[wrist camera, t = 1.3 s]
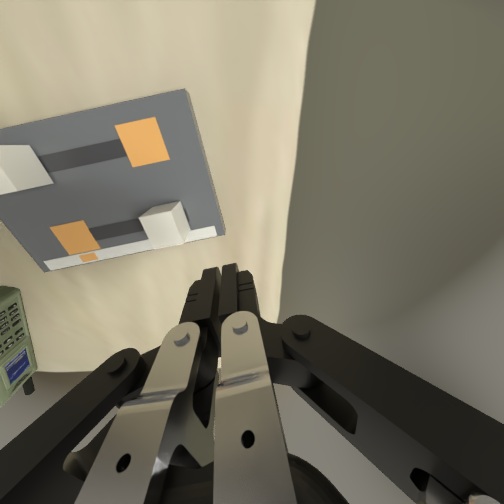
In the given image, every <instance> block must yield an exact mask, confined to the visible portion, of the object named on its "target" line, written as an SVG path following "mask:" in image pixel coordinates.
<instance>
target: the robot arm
mask: <svg viewBox="0 0 504 504" xmlns="http://www.w3.org/2000/svg"><path fill="white" fill-rule="evenodd" d="M187 296H188V297H187V298H186V303H185V305H184V308H183V311H182V315H181V318H180V321H179V325H177V326H175V327H174V328H172V329H171V330H170V331H169V332H168V333H167V334H166V336H165V337H164V339H163V342H162V344H161V346H159V347H157V348H155V349H153V350H151V351H148V352H146V353H144V354H142V355H140V353H139V352H138V351H137V350H136V349H134V348H127V349H124V350H121V351H119V352H117V353H115V354H114V355H112V356H111V357H110V358H108V359H107V360H106V361H105V362H104V363H102V364H101V365H100V366H99V367H98V368H97V369H95V370H94V371H93V372H92V373H91V374H90V375H88V376H87V377H86V378H85V379H84V380H82V381H81V382H80V383H79V384H78V385H77V386H75V387H74V388H73V389H72V390H71V391H70V392H68V393H67V394H66V395H65V396H64V397H63V398H61V399H60V400H59V401H58V402H57V403H55V404H54V405H53V406H52V407H51V408H49V409H48V410H47V411H46V412H45V413H44V414H42V415H41V416H40V417H39V418H38V419H37V420H35V421H34V422H33V423H32V424H31V425H29V426H28V427H27V428H26V429H25V430H24V431H22V432H21V433H20V434H19V435H18V436H17V437H15V438H14V439H13V440H12V441H11V442H9V443H8V444H7V445H6V446H5V447H3V448H2V449H1V450H0V504H349V503H348V502H347V500H346V499H345V498H344V497H343V496H342V495H341V493H340V492H339V491H338V490H337V489H336V487H335V486H334V485H333V484H332V483H331V482H330V481H329V480H328V479H327V478H326V477H325V476H324V475H323V474H322V473H321V472H320V471H319V470H318V469H317V468H315V467H314V466H312V465H311V464H309V463H308V462H307V461H305V460H303V459H301V458H300V457H298V456H295V455H292V454H290V453H289V452H288V448H287V444H286V439H285V434H284V430H283V426H282V422H281V417H280V413H279V409H278V404H277V400H276V395H275V391H274V386H273V383H277V384H282V385H288V386H291V387H292V388H293V390H294V391H295V392H296V393H297V394H298V395H299V396H300V397H301V398H303V399H304V400H305V401H306V402H307V403H308V404H309V405H310V406H311V407H312V408H313V409H314V410H315V411H317V412H318V413H319V414H320V415H321V416H322V417H323V418H324V419H325V420H326V421H327V422H328V423H330V424H331V425H332V426H333V427H334V428H335V429H336V430H337V431H338V432H339V433H340V434H341V435H342V436H344V437H345V438H346V439H347V440H348V441H349V442H350V443H351V444H352V445H353V446H354V447H356V448H357V449H358V450H359V451H360V452H361V453H362V454H363V455H364V456H365V457H366V458H367V459H368V460H370V461H371V462H372V463H373V464H374V465H375V466H376V467H377V468H378V469H379V470H380V471H381V472H382V473H384V474H385V475H386V476H387V477H388V478H389V479H390V480H391V481H392V482H393V483H394V484H395V485H396V486H398V487H399V488H400V489H401V490H402V491H403V492H404V493H405V494H406V495H407V496H408V497H409V498H411V499H412V500H413V501H414V502H415V503H416V504H504V424H502V423H500V422H498V421H497V420H495V419H493V418H491V417H490V416H488V415H486V414H484V413H482V412H481V411H479V410H477V409H475V408H473V407H472V406H470V405H468V404H466V403H464V402H463V401H461V400H459V399H457V398H455V397H453V396H452V395H450V394H448V393H447V392H445V391H443V390H441V389H439V388H438V387H436V386H434V385H432V384H430V383H429V382H427V381H425V380H423V379H421V378H420V377H418V376H416V375H414V374H412V373H411V372H409V371H407V370H405V369H404V368H402V367H400V366H398V365H396V364H394V363H393V362H391V361H389V360H387V359H386V358H384V357H382V356H380V355H378V354H377V353H375V352H373V351H371V350H370V349H368V348H366V347H364V346H362V345H361V344H359V343H357V342H355V341H353V340H351V339H350V338H348V337H346V336H344V335H343V334H341V333H339V332H337V331H335V330H334V329H332V328H330V327H328V326H326V325H324V324H323V323H321V322H319V321H318V320H316V319H314V318H312V317H310V316H307V315H295V316H291V317H289V318H288V319H286V320H285V321H284V322H283V324H276V323H270V322H267V321H265V320H264V319H262V318H261V317H260V311H259V304H258V298H257V293H256V289H255V285H254V280H253V276H252V274H251V273H250V272H249V271H248V270H246V271H241V272H239V270H238V266H237V263H233V264H228V265H223V266H222V276H221V273H220V270H219V268H218V267H214V268H209V269H204V270H203V274H202V278H201V280H197V281H195V282H194V283H193V284H192V286H191V287H190V288H189V292H188V295H187ZM218 357H221V384H219V371H218V368H217V366H218ZM114 406H116V407H117V408H119V411H118V413H117V414H116V415H115V416H114V417H113V418H112V419H111V420H110V421H109V422H108V424H107V425H106V426H105V427H104V428H103V429H102V430H101V431H100V432H99V433H98V434H97V435H96V436H95V437H94V438H93V440H92V441H91V442H90V443H89V444H88V445H87V446H86V447H84V448H83V449H81V450H80V451H77V452H71V451H72V450H73V449H74V448H75V447H76V446H77V445H78V444H79V442H80V441H81V440H82V439H83V438H84V437H85V436H86V435H87V434H88V433H89V432H90V431H91V430H92V429H93V428H94V427H95V426H96V425H97V424H98V423H99V422H100V421H101V420H102V419H103V418H104V417H105V416H106V415H107V414H108V412H109V411H110V410H111V409H112V408H113V407H114ZM214 420H215V439H214V435H213V430H214V429H213V428H214Z"/></svg>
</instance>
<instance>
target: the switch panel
mask: <svg viewBox="0 0 504 504" xmlns="http://www.w3.org/2000/svg"><path fill="white" fill-rule="evenodd" d="M0 145H30V147H31V148H32V150H33V151H34V153H35V155H36V156H37V158H38V159H39V161H40V162H41V164H42V166H43V167H44V169H45V170H46V172H47V173H48V175H49V176H50V178H51V180H52V181H53V184H48V185H44V186H39V187H34V188H30V189H25V190H20V191H16V192H11V193H6V194H2V195H0V220H1V221H2V222H3V223H4V225H5V226H6V227H7V228H8V229H9V231H10V232H11V233H12V234H13V235H14V237H15V238H16V239H17V240H18V241H19V243H20V244H21V245H22V246H23V247H24V249H25V250H26V251H27V252H28V253H29V255H30V256H31V257H32V258H33V259H34V261H35V262H36V263H37V264H38V265H39V267H40V268H41V269H42V270H43V271H44V272H48V271H53V270H58V269H63V268H68V267H72V266H77V265H82V264H87V263H92V262H96V261H101V260H106V259H111V258H116V257H120V256H125V255H130V254H135V253H140V252H144V251H149V250H154V249H153V247H152V245H151V243H150V240H149V238H148V236H147V234H146V232H145V230H144V228H143V226H142V224H141V222H140V220H139V217H140V216H142V215H143V214H144V213H145V212H147V211H148V210H149V209H151V208H152V207H154V206H159V205H163V204H168V203H173V202H177V201H180V202H181V205H182V207H183V210H184V213H185V216H186V218H187V221H188V224H189V227H190V229H191V230H190V232H189V234H188V236H187V238H186V240H185V242H184V243H188V242H192V241H197V240H202V239H207V238H212V237H217V236H221V235H225V230H226V229H225V225H224V221H223V217H222V214H221V210H220V206H219V203H218V199H217V195H216V192H215V188H214V184H213V180H212V177H211V173H210V169H209V166H208V162H207V158H206V155H205V151H204V147H203V143H202V140H201V136H200V132H199V129H198V125H197V121H196V118H195V114H194V110H193V106H192V103H191V99H190V95H189V93H188V92H187V91H186V89H180V90H176V91H171V92H167V93H162V94H158V95H153V96H149V97H144V98H139V99H135V100H130V101H126V102H121V103H117V104H112V105H108V106H103V107H98V108H94V109H89V110H85V111H80V112H76V113H71V114H67V115H62V116H58V117H53V118H48V119H44V120H39V121H35V122H30V123H26V124H21V125H17V126H12V127H7V128H3V129H0Z"/></svg>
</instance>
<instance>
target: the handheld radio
mask: <svg viewBox="0 0 504 504" xmlns="http://www.w3.org/2000/svg"><path fill="white" fill-rule="evenodd" d="M36 370H37V365H36V360H35V356H34V351H33V347H32V343H31V338H30V334H29V329H28V325H27V321H26V316H25V312H24V307H23V303H22V299H21V294H20V290H19V289H18V288H14V287H8V286H2V287H0V408H1V407H2V406H3V405H4V404H5V403H6V402H7V401H8V400H9V399H10V398H11V397H12V396H13V394H14V393H15V392H16V391H17V390H18V389H19V388H20V387H21V386H22V385H23V388H24V393H25V395H30V394H32V393H33V392H34V390H35V389H34V385H33V381H32V377H31V375H32V374H33V373H34V372H36Z"/></svg>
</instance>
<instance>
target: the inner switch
mask: <svg viewBox="0 0 504 504" xmlns="http://www.w3.org/2000/svg"><path fill="white" fill-rule="evenodd" d="M48 184H53V181H52V180H51V178H50V176H49V175H48V173H47V172H46V170H45V169H44V167H43V166H42V164H41V162H40V161H39V159H38V158H37V156H36V155H35V153H34V151H33V150H32V148H31V147H30V145H0V195H2V194H6V193H11V192H16V191H20V190H25V189H30V188H34V187H39V186H44V185H48Z"/></svg>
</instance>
